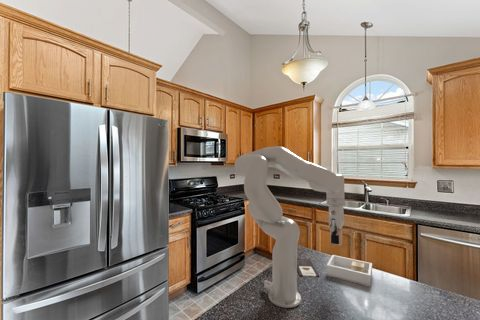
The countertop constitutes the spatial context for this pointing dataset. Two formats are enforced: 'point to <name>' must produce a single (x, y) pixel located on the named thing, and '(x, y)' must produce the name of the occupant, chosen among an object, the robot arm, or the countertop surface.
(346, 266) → the tote
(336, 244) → the terracotta cylinder
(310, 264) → the chocolate bar
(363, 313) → the countertop surface
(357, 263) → the wood cube
